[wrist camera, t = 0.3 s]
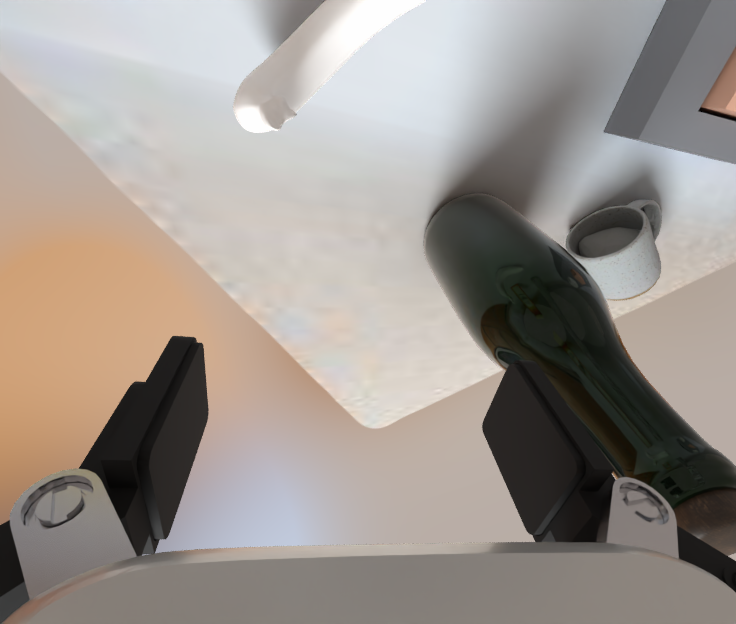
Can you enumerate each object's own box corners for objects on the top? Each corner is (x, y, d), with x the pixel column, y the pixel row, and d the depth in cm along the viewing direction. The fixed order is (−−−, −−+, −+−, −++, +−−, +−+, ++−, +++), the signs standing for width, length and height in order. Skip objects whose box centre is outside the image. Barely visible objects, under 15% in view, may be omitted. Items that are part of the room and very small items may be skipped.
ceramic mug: (579, 285, 48) (621, 318, 41) (551, 240, 44) (592, 268, 37) (660, 229, 45) (718, 255, 38) (638, 176, 41) (698, 194, 35)
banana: (450, -20, 31) (534, -80, 18) (278, 139, 36) (253, 174, 23) (417, -89, 28) (488, -211, 16) (238, 91, 33) (187, 102, 21)
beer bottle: (531, 207, 42) (945, 480, 14) (485, 288, 47) (722, 608, 19) (445, 176, 39) (746, 437, 11) (407, 266, 44) (548, 600, 16)
